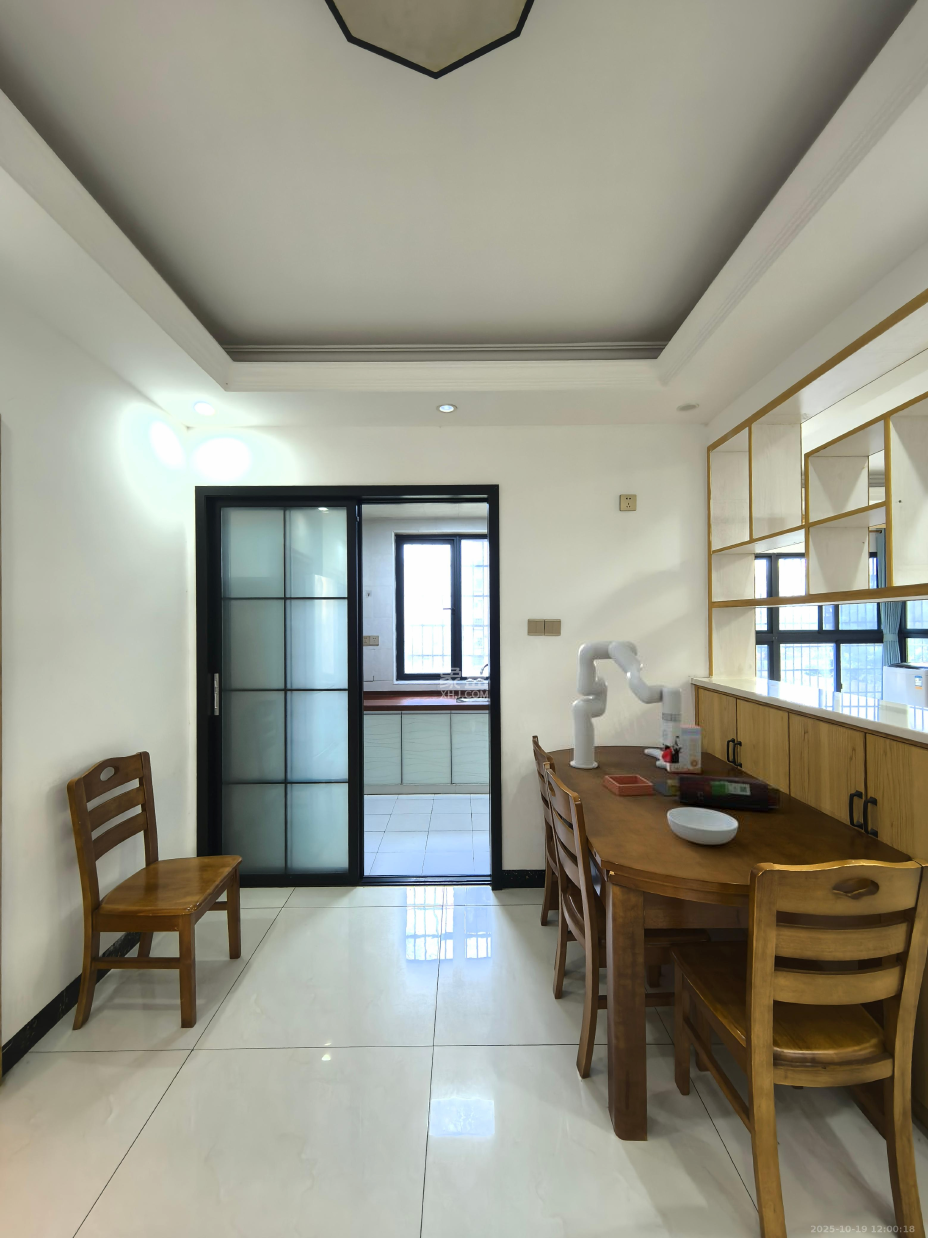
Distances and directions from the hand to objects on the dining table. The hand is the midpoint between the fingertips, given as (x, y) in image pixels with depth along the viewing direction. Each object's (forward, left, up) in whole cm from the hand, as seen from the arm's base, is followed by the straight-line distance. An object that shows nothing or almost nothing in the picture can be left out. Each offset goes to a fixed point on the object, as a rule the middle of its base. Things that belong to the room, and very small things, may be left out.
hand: (671, 761), depth 242 cm
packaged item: (+22, +9, -12) cm, 26 cm away
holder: (-45, +23, -12) cm, 52 cm away
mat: (0, 0, -11) cm, 11 cm away
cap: (0, 0, -1) cm, 1 cm away
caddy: (-1, -18, -11) cm, 21 cm away
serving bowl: (+53, -17, -12) cm, 57 cm away
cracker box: (-25, +19, -12) cm, 34 cm away
